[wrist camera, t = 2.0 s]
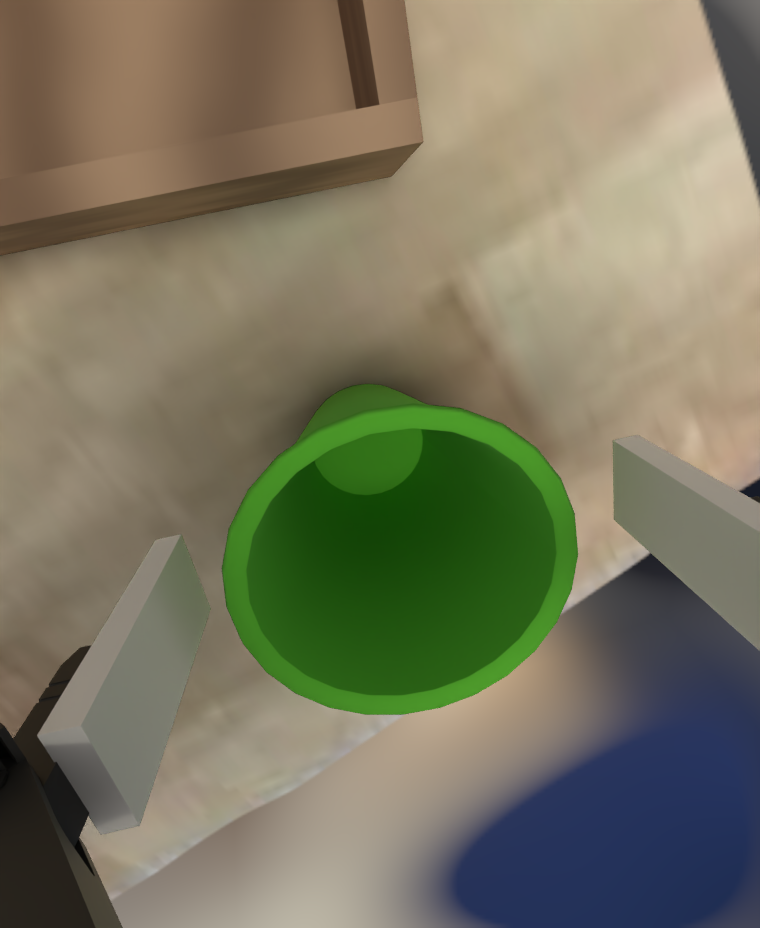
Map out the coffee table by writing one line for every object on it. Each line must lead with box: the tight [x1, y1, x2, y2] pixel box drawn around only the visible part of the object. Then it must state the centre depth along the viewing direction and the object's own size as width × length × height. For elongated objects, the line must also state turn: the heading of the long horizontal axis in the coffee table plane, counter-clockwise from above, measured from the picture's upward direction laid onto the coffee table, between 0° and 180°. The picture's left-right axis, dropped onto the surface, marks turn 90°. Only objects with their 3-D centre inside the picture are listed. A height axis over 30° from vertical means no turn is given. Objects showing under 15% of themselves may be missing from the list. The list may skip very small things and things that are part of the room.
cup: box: [222, 384, 578, 715], centre depth 18 cm, size 9×9×11 cm
